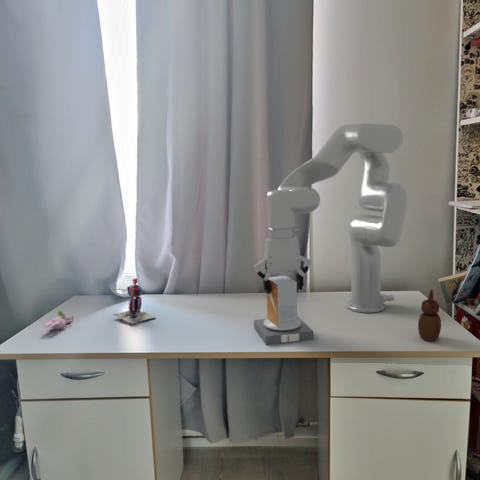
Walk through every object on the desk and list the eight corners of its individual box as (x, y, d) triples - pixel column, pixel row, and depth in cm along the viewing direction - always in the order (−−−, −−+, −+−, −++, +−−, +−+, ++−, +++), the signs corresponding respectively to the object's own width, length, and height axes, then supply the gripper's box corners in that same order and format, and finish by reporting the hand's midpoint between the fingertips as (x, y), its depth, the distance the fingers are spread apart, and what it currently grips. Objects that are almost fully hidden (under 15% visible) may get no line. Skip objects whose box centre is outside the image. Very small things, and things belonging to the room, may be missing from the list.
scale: (297, 323, 154) (297, 312, 153) (314, 340, 140) (314, 328, 139) (254, 327, 151) (253, 317, 151) (266, 345, 137) (266, 333, 136)
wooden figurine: (437, 345, 134) (439, 291, 131) (415, 341, 137) (417, 289, 134) (442, 336, 139) (444, 285, 137) (421, 333, 143) (422, 283, 140)
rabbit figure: (60, 324, 164) (37, 333, 149) (60, 306, 164) (37, 314, 149) (78, 324, 164) (57, 334, 149) (78, 306, 164) (56, 314, 149)
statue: (155, 322, 163) (156, 279, 159) (131, 329, 156) (132, 285, 153) (136, 311, 170) (136, 270, 167) (112, 318, 164) (112, 275, 160)
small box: (266, 319, 148) (265, 277, 146) (286, 316, 150) (285, 275, 148) (277, 328, 141) (277, 284, 138) (298, 324, 143) (297, 281, 140)
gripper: (305, 228, 146) (307, 283, 149) (248, 233, 143) (252, 290, 146) (314, 232, 139) (316, 290, 142) (255, 238, 135) (258, 298, 139)
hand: (283, 290), depth 144 cm, fingers open, 9 cm apart
